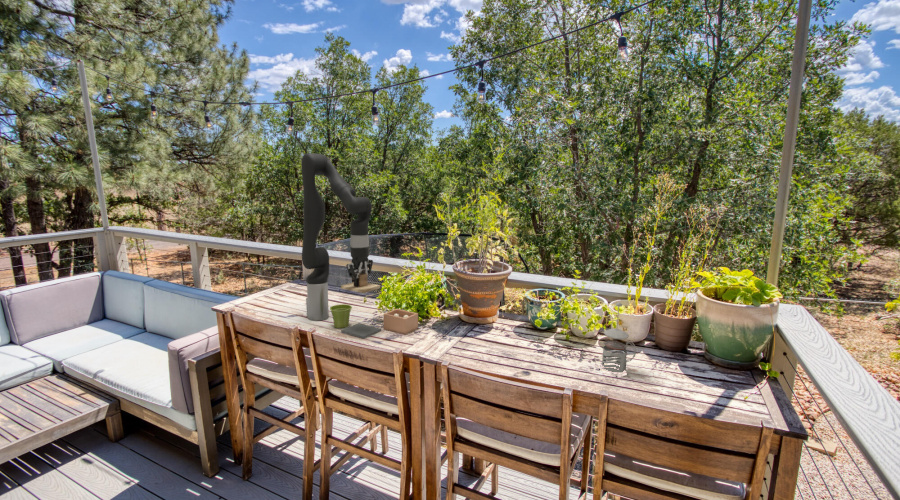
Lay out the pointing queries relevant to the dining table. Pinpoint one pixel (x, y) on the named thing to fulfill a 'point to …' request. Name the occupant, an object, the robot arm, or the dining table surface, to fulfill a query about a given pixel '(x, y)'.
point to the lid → (361, 285)
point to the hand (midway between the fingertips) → (360, 285)
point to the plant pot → (341, 315)
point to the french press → (616, 348)
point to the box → (400, 321)
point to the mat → (361, 330)
